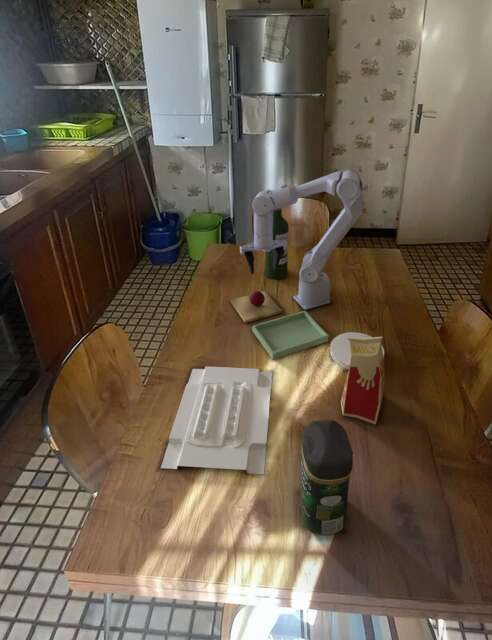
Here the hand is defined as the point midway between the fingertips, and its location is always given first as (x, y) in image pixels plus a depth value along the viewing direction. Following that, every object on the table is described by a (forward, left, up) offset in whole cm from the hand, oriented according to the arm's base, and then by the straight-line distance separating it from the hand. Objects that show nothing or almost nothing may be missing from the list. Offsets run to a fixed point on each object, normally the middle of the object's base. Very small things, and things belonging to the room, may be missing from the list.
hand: (263, 270), depth 137 cm
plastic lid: (-10, +37, -10) cm, 39 cm away
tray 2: (+2, +22, -9) cm, 24 cm away
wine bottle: (-10, -11, -10) cm, 18 cm away
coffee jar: (+20, +68, -10) cm, 72 cm away
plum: (+5, +5, -6) cm, 9 cm away
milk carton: (-1, +51, -10) cm, 52 cm away
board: (+5, +5, -9) cm, 12 cm away
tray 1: (+28, +40, -10) cm, 50 cm away
